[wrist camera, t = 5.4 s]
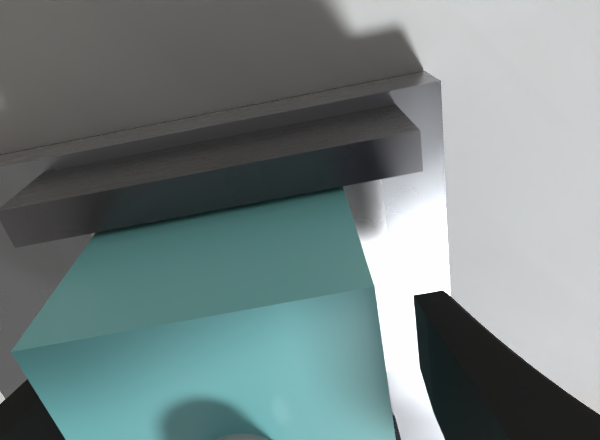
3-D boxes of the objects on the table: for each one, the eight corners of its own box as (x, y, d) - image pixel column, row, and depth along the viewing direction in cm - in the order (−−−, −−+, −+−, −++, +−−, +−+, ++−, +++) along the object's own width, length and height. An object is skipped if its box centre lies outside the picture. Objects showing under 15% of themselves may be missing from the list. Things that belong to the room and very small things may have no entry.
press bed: (424, 71, 11) (484, 108, 8) (450, 501, 19) (485, 608, 16) (-96, 173, 12) (-236, 247, 8) (137, 549, 19) (110, 662, 16)
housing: (333, 157, 11) (391, 338, 5) (365, 354, 13) (425, 604, 8) (119, 198, 11) (-33, 412, 5) (194, 383, 14) (141, 646, 8)
